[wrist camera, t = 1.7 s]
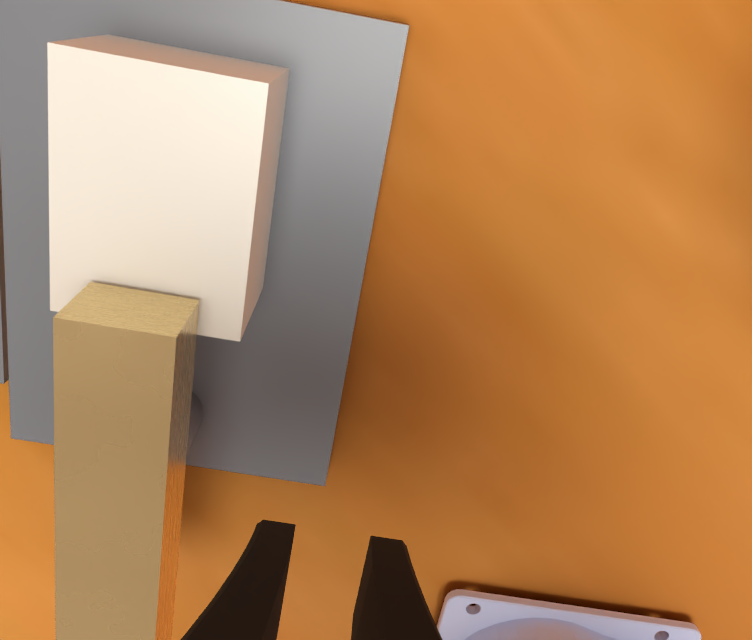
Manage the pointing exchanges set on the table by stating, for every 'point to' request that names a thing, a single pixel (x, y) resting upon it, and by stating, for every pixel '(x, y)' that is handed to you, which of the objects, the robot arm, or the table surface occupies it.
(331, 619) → the table surface
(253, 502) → the table surface
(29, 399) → the panel
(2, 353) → the mat
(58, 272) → the white rectangular block
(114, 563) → the tan rectangular bar
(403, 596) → the robot arm
